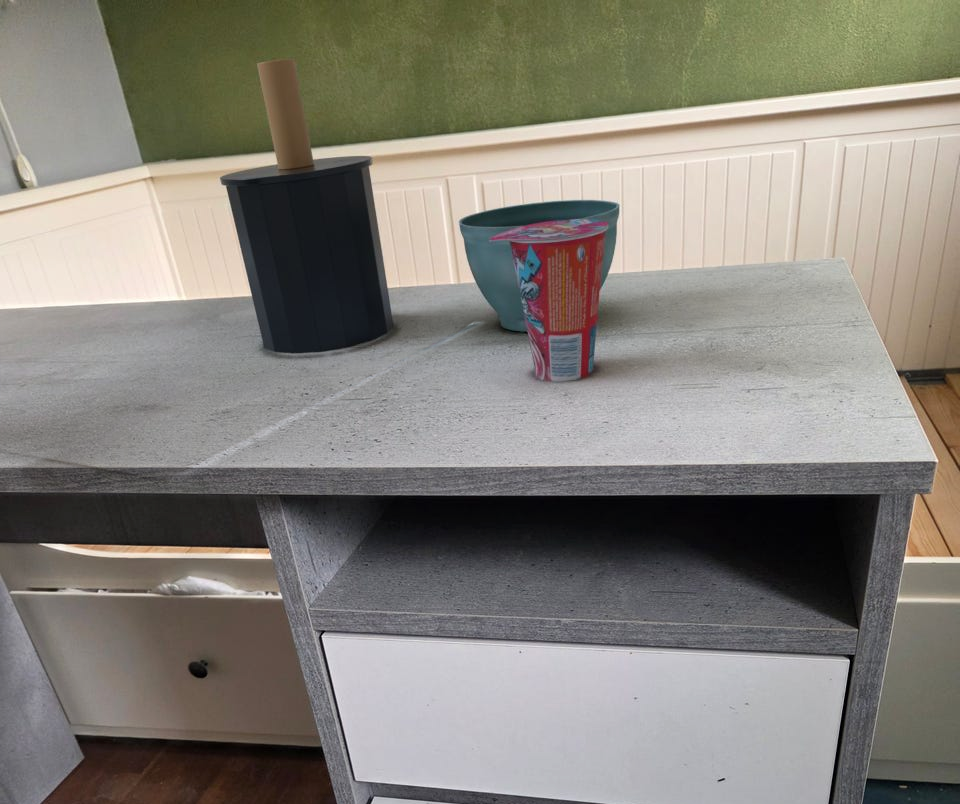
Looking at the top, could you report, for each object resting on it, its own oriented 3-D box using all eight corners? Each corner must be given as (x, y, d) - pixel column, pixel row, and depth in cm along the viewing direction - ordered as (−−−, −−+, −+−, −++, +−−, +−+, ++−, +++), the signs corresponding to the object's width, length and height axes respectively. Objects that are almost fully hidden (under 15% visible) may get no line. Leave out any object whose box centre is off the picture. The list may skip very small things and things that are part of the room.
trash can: (237, 354, 97) (195, 187, 88) (321, 319, 106) (291, 166, 97) (338, 362, 90) (303, 182, 81) (418, 324, 99) (395, 159, 90)
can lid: (190, 195, 88) (159, 75, 82) (292, 172, 98) (271, 64, 93) (306, 189, 80) (280, 57, 75) (403, 165, 91) (387, 47, 85)
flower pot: (497, 305, 103) (488, 203, 97) (634, 301, 98) (633, 193, 92) (448, 344, 91) (434, 231, 85) (602, 342, 85) (599, 221, 79)
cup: (568, 353, 83) (561, 215, 77) (631, 369, 77) (630, 220, 71) (490, 379, 79) (476, 235, 73) (550, 397, 73) (541, 243, 67)
